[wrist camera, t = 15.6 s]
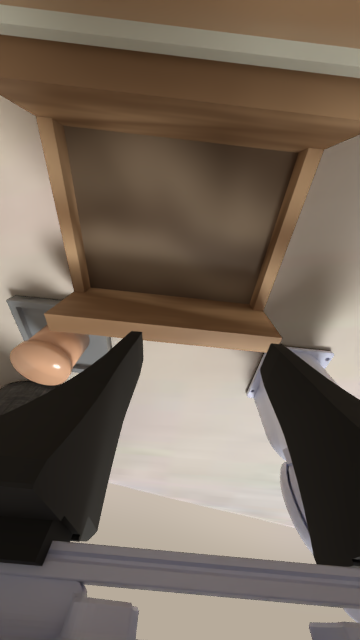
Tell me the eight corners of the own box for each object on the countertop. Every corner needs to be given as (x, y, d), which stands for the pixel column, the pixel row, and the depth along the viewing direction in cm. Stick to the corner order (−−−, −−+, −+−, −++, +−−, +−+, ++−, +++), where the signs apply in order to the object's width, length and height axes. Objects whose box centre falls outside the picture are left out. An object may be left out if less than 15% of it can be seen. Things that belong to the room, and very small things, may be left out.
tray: (114, 369, 26) (111, 375, 25) (42, 361, 26) (36, 368, 24) (106, 304, 20) (102, 309, 19) (15, 295, 20) (6, 300, 19)
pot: (92, 356, 24) (71, 389, 20) (49, 348, 23) (17, 380, 19) (90, 321, 21) (64, 351, 17) (41, 312, 21) (2, 339, 16)
